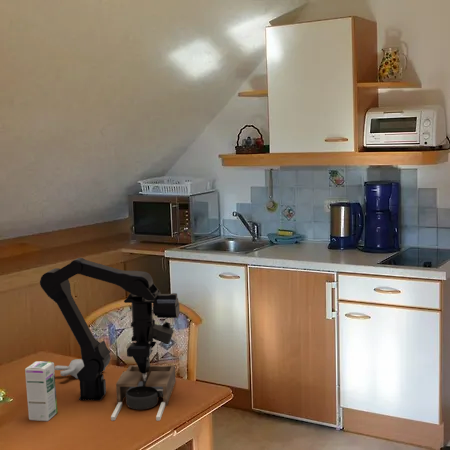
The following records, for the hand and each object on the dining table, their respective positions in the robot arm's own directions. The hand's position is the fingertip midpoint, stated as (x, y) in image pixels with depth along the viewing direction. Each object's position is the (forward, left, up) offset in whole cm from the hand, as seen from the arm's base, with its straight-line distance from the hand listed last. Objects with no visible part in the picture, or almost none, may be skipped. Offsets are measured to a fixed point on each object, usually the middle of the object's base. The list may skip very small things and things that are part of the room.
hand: (144, 370), depth 195 cm
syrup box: (-25, -13, -8) cm, 30 cm away
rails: (0, -11, -8) cm, 13 cm away
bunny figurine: (-23, +18, -8) cm, 31 cm away
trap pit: (0, +9, -8) cm, 12 cm away
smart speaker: (0, -5, -8) cm, 10 cm away
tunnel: (0, +4, -8) cm, 9 cm away
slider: (0, 0, -8) cm, 8 cm away
